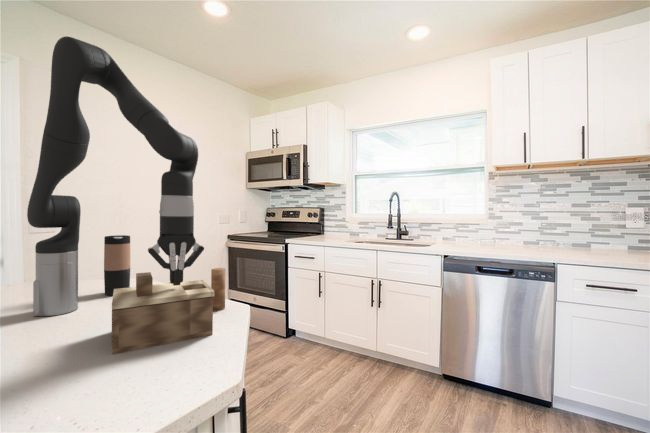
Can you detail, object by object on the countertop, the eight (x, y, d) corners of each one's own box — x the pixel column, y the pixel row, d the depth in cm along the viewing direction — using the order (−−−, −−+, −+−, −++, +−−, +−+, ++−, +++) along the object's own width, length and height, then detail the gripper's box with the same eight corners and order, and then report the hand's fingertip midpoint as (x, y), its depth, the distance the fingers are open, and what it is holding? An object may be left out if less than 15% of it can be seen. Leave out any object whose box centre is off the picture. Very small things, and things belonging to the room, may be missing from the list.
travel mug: (116, 289, 112) (116, 235, 112) (135, 291, 111) (135, 235, 111) (98, 295, 105) (98, 236, 104) (118, 296, 103) (118, 237, 103)
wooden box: (111, 354, 63) (111, 311, 63) (113, 331, 75) (113, 294, 75) (212, 334, 74) (212, 297, 74) (200, 317, 86) (200, 284, 86)
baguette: (212, 311, 91) (213, 271, 90) (209, 307, 94) (210, 268, 94) (226, 309, 93) (226, 269, 93) (223, 305, 96) (223, 267, 96)
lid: (111, 309, 63) (111, 284, 63) (113, 293, 75) (114, 272, 75) (214, 296, 74) (214, 274, 74) (202, 284, 86) (202, 265, 86)
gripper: (146, 214, 69) (146, 291, 69) (208, 215, 76) (207, 284, 76) (145, 214, 75) (144, 284, 76) (202, 214, 82) (201, 278, 83)
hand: (176, 284), depth 76 cm, fingers closed
